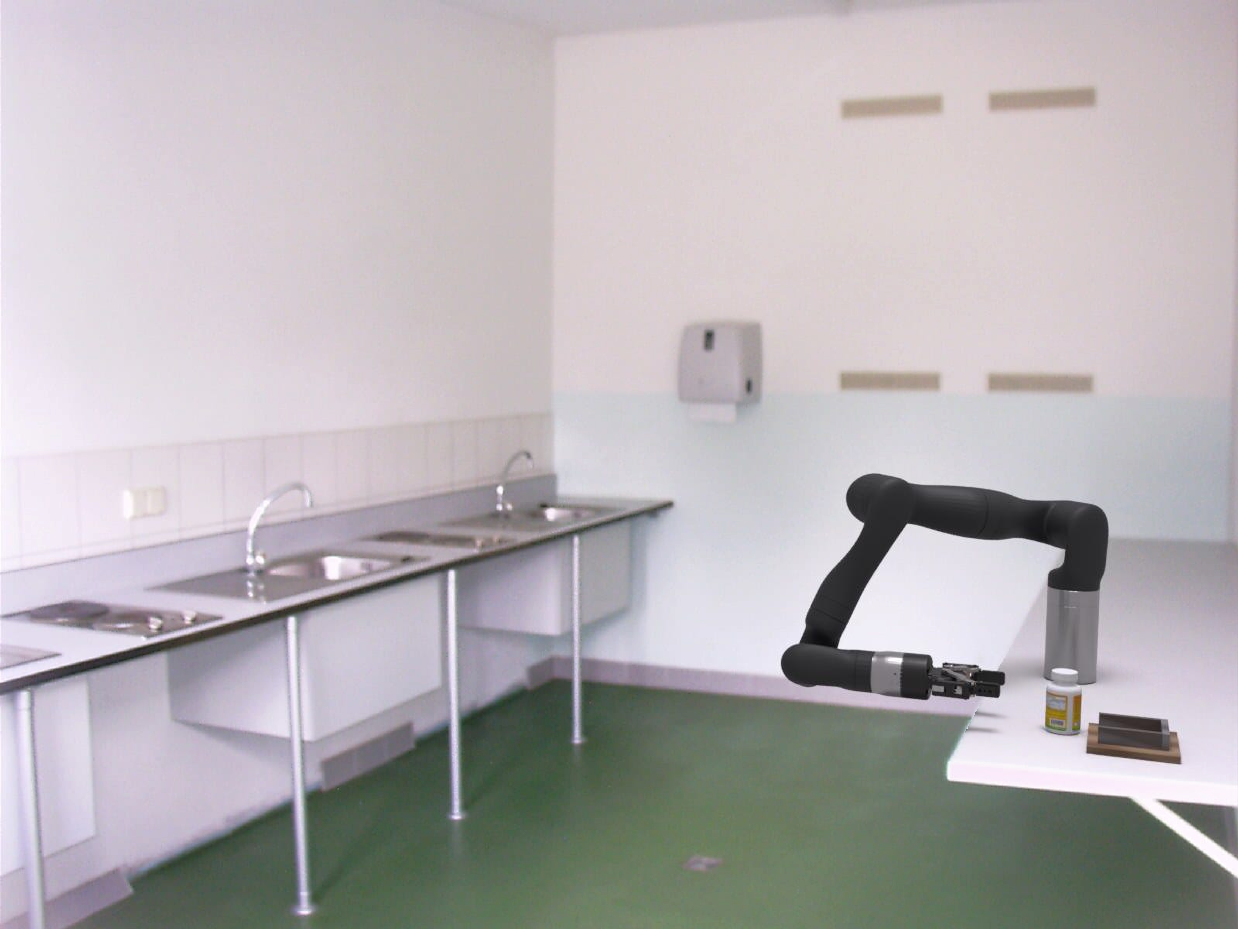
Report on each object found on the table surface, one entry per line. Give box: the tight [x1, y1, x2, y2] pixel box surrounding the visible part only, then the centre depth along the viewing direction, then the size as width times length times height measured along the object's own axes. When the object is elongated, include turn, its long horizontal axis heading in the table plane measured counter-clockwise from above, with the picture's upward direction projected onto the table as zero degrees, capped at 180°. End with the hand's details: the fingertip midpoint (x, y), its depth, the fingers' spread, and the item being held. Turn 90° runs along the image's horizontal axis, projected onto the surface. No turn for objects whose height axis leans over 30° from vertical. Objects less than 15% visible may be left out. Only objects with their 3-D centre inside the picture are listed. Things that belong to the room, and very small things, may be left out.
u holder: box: [1086, 711, 1182, 765], centre depth 194 cm, size 14×13×4 cm
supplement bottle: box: [1044, 668, 1083, 736], centre depth 202 cm, size 5×5×10 cm
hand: (1002, 684), depth 205 cm, fingers open, 8 cm apart
